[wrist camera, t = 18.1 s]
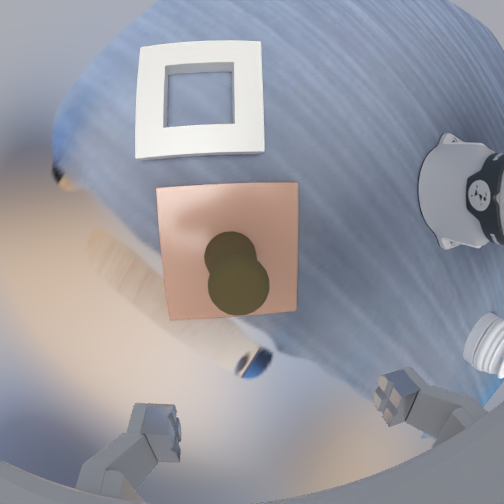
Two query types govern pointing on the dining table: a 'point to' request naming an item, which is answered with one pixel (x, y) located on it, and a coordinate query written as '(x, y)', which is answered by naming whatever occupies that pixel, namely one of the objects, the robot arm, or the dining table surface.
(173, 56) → the frame
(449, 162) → the robot arm
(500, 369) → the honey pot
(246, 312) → the olive pawn
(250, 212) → the terracotta tile
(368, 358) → the dining table surface
